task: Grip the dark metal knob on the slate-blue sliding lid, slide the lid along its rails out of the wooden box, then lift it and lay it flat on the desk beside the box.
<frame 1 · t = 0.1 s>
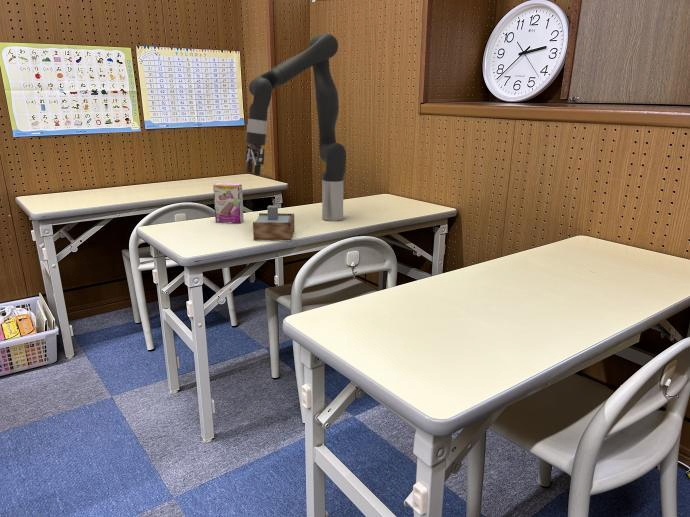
hand: (253, 173, 198), 22 cm above the table, tool pointing down, fingers open, 8 cm apart
wooden box: (274, 235, 196), on the table
lid: (273, 221, 194), point 5 cm above the table, touching wooden box
candy bar box: (229, 222, 215), on the table
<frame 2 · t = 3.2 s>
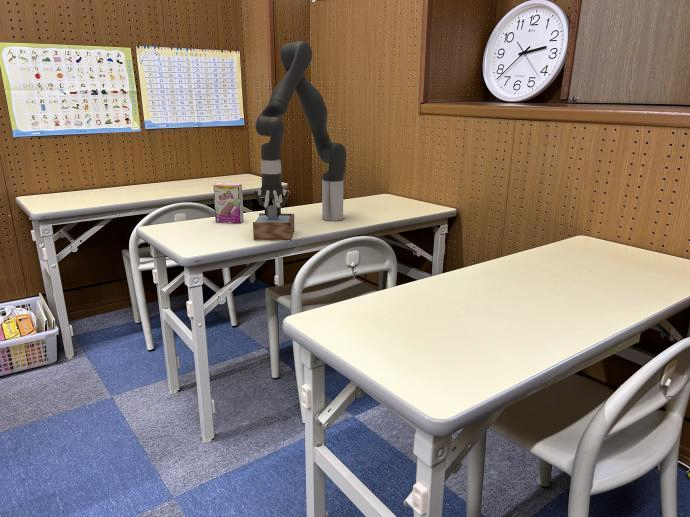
hand: (272, 216, 193), 8 cm above the table, tool pointing down, fingers closed on lid, 3 cm apart
lid: (273, 221, 194), point 6 cm above the table, touching gripper, wooden box
everything else where it was.
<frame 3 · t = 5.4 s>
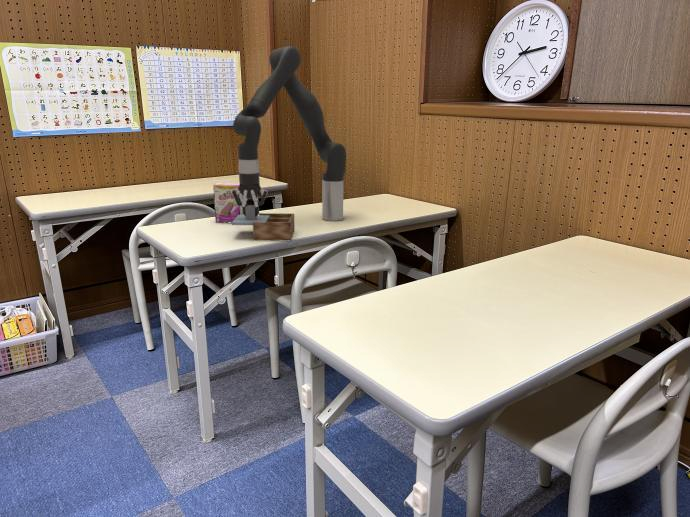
hand: (251, 215, 193), 8 cm above the table, tool pointing down, fingers closed on lid, 3 cm apart
lid: (251, 221, 194), point 6 cm above the table, touching gripper
everything else where it was.
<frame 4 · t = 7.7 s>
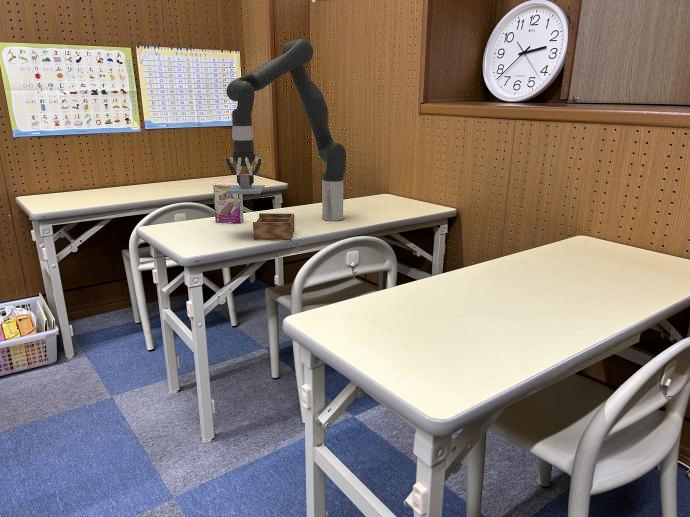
hand: (245, 184, 189), 20 cm above the table, tool pointing down, fingers closed on lid, 3 cm apart
lid: (246, 190, 190), point 18 cm above the table, touching gripper
everything else where it was.
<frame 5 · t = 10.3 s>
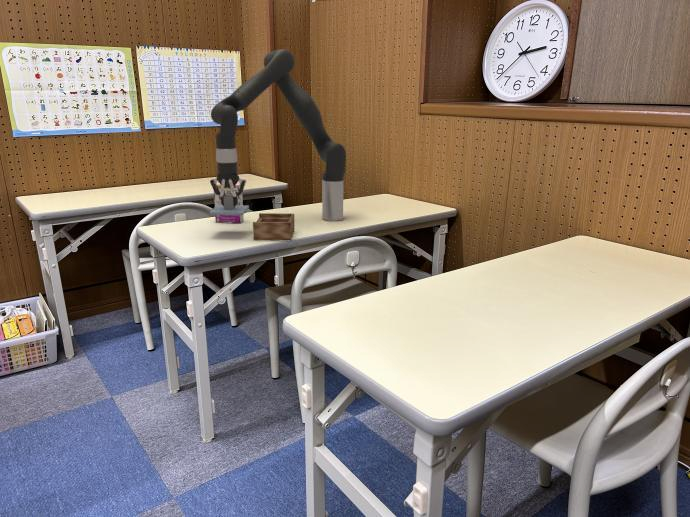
hand: (229, 205, 192), 12 cm above the table, tool pointing down, fingers closed on lid, 3 cm apart
lid: (229, 211, 193), point 9 cm above the table, touching gripper
everything else where it was.
when the fingers open (4 cm above the table, at t = 12.4 s): lid drops 3 cm, on the table.
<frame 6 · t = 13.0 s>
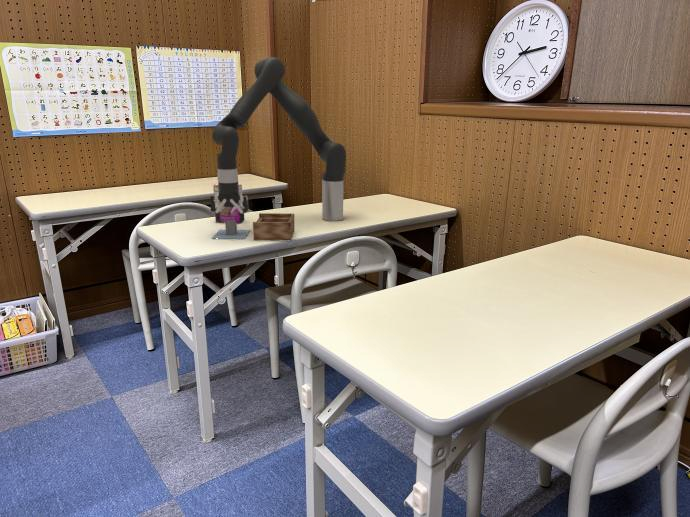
hand: (230, 222, 194), 5 cm above the table, tool pointing down, fingers open, 8 cm apart
lid: (231, 236, 196), on the table
everything else where it was.
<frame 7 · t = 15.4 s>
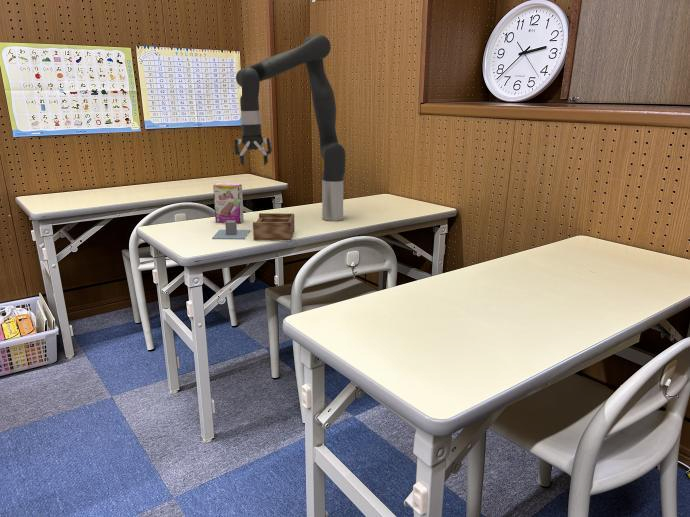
hand: (254, 164, 199), 26 cm above the table, tool pointing down, fingers open, 8 cm apart
nothing on the table moved.
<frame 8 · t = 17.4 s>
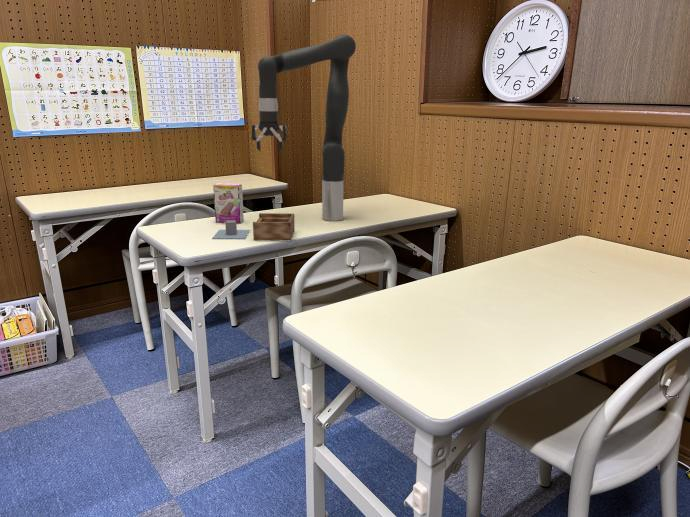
hand: (269, 150, 207), 30 cm above the table, tool pointing down, fingers open, 8 cm apart
nothing on the table moved.
at the end: lid inside the target area (0.1 cm from its centre), on the table; lid tilted 0°; the gripper is holding nothing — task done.
